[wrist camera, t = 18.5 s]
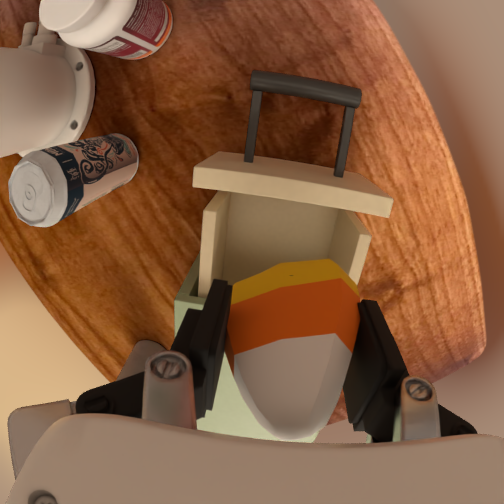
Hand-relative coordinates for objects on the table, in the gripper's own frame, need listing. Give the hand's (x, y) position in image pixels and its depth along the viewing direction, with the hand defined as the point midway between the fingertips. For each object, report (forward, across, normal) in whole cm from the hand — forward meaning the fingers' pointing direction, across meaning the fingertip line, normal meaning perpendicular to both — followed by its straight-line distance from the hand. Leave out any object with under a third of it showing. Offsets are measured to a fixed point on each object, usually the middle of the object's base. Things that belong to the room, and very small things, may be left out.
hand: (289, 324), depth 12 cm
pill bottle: (+16, +14, -15) cm, 26 cm away
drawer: (+15, 0, -1) cm, 15 cm away
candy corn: (+3, 0, 0) cm, 3 cm away
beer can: (+16, +15, -3) cm, 22 cm away
